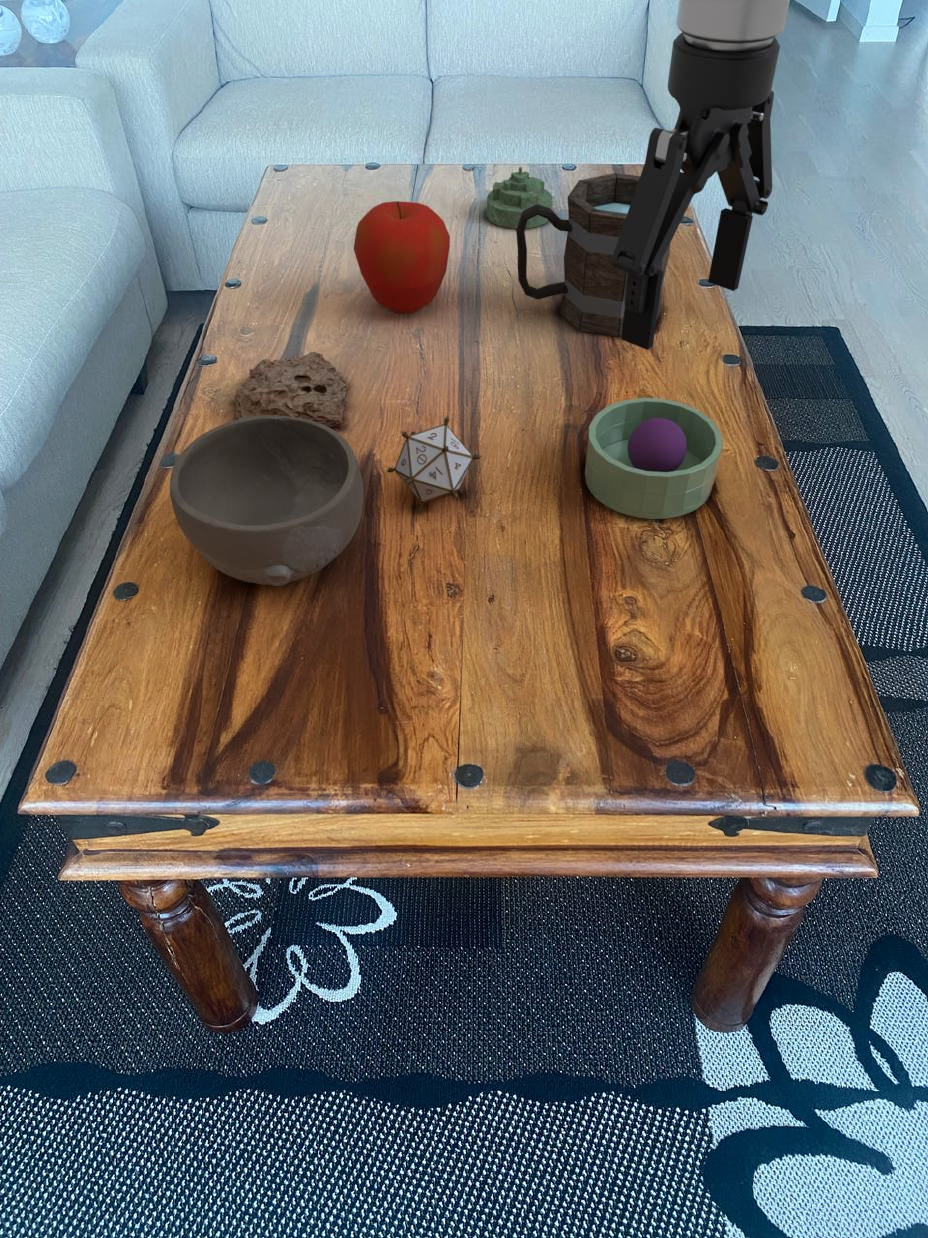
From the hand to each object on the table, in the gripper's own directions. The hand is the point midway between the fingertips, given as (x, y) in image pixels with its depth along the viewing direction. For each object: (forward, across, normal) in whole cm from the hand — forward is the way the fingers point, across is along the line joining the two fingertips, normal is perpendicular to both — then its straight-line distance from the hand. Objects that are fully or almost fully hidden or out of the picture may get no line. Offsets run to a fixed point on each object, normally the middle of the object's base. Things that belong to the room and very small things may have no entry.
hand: (681, 313), depth 81 cm
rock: (+20, +13, -42) cm, 48 cm away
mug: (+20, -26, -28) cm, 43 cm away
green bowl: (+20, -2, -2) cm, 21 cm away
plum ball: (+16, -3, -2) cm, 17 cm away
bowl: (+20, +31, -23) cm, 44 cm away
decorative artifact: (+20, -43, -54) cm, 72 cm away
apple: (+20, -11, -47) cm, 52 cm away
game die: (+20, +15, -17) cm, 30 cm away
